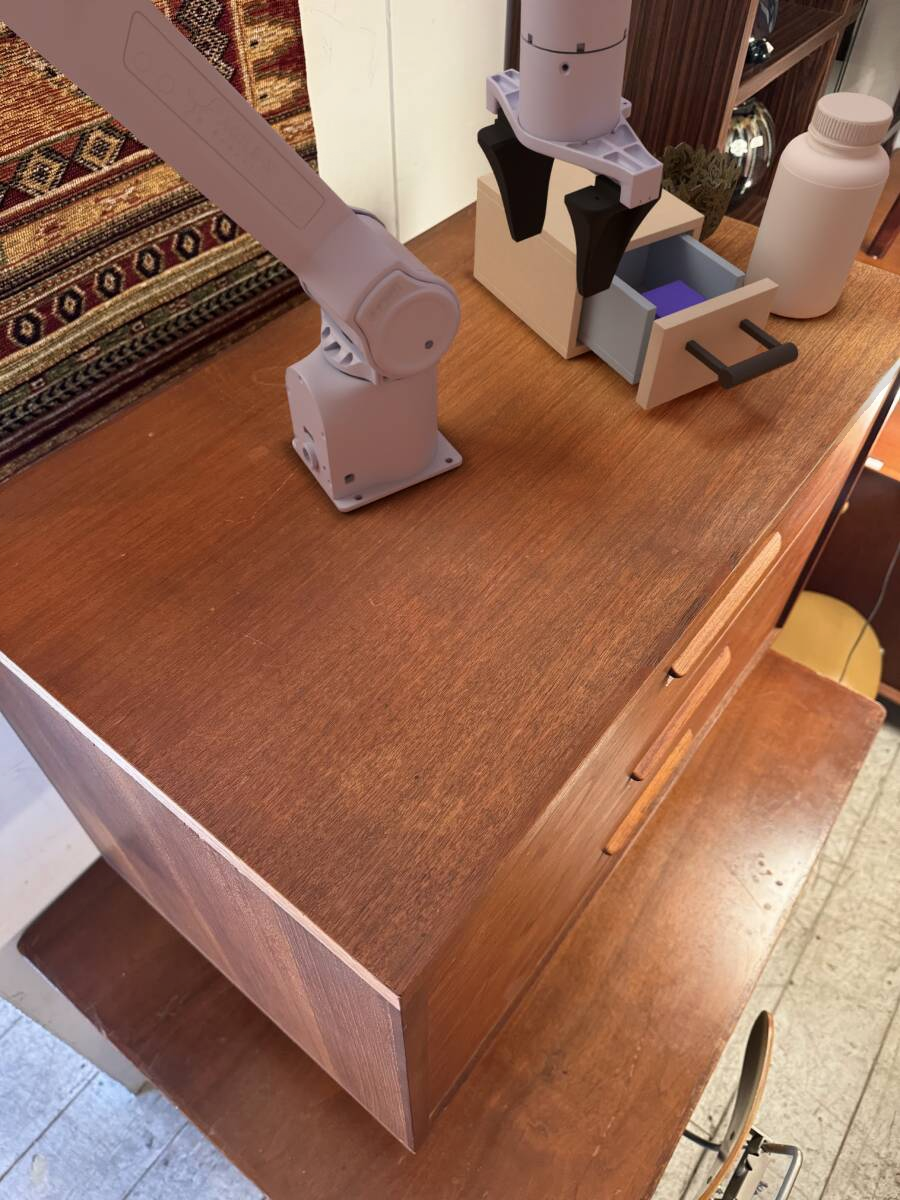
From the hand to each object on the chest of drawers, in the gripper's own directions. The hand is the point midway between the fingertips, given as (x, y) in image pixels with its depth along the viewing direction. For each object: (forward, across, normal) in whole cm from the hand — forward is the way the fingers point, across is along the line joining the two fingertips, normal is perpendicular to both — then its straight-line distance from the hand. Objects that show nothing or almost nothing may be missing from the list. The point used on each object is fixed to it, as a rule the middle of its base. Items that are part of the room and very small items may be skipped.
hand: (559, 262), depth 57 cm
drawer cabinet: (+11, +9, -9) cm, 17 cm away
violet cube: (+9, -2, -9) cm, 13 cm away
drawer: (+10, -3, -9) cm, 14 cm away
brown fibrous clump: (+12, +10, -21) cm, 26 cm away
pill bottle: (+12, 0, -25) cm, 28 cm away
